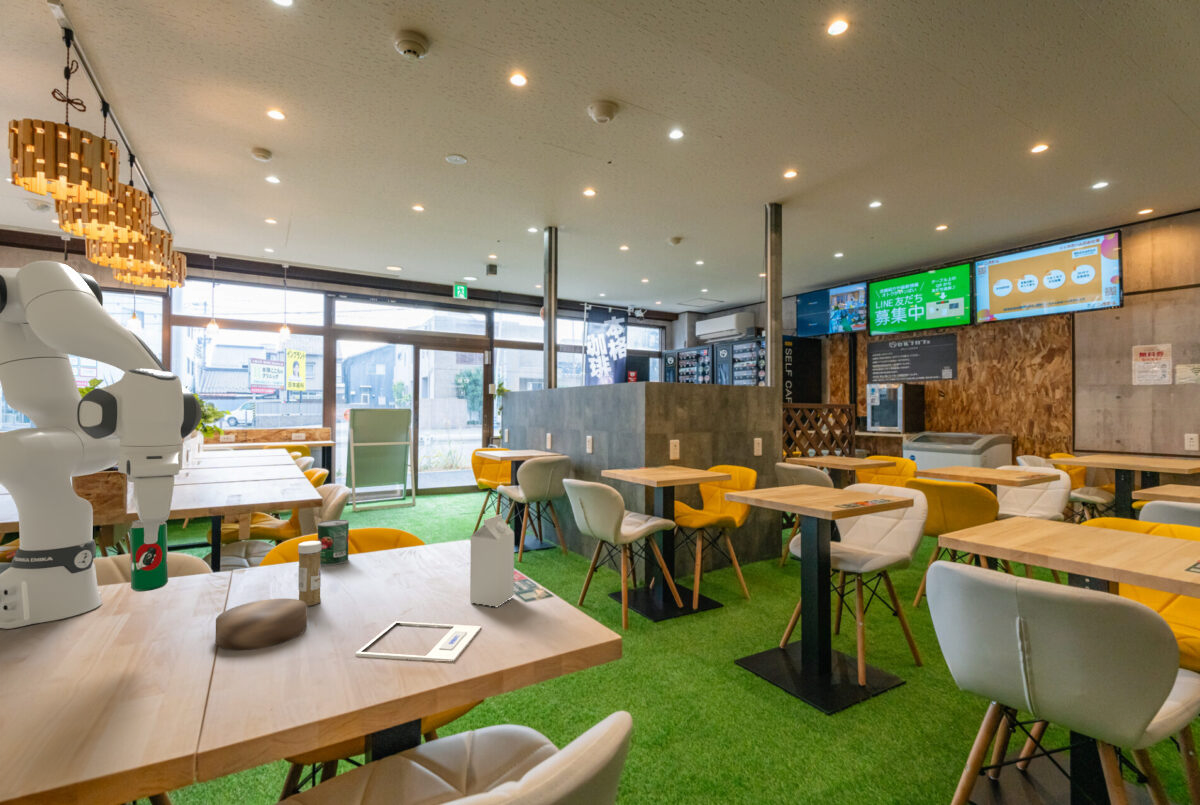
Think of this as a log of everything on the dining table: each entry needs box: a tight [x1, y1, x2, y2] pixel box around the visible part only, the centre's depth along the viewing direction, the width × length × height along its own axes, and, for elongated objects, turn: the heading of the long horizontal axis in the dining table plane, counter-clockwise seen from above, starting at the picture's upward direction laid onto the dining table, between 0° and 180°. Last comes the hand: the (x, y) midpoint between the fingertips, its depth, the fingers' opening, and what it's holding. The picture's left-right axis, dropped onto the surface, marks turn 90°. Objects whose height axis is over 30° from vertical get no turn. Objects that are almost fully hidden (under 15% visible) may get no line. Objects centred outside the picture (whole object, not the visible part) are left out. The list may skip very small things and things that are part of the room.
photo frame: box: [354, 621, 482, 661], centre depth 104 cm, size 15×1×18 cm
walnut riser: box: [215, 598, 308, 651], centre depth 107 cm, size 15×15×4 cm
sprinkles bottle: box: [297, 540, 322, 607], centre depth 123 cm, size 5×5×14 cm
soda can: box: [129, 519, 169, 593], centre depth 98 cm, size 5×5×12 cm
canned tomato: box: [317, 519, 350, 566], centre depth 156 cm, size 8×8×11 cm
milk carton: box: [469, 513, 515, 607], centre depth 126 cm, size 7×7×19 cm
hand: (148, 539), depth 98 cm, fingers closed on soda can, 5 cm apart
